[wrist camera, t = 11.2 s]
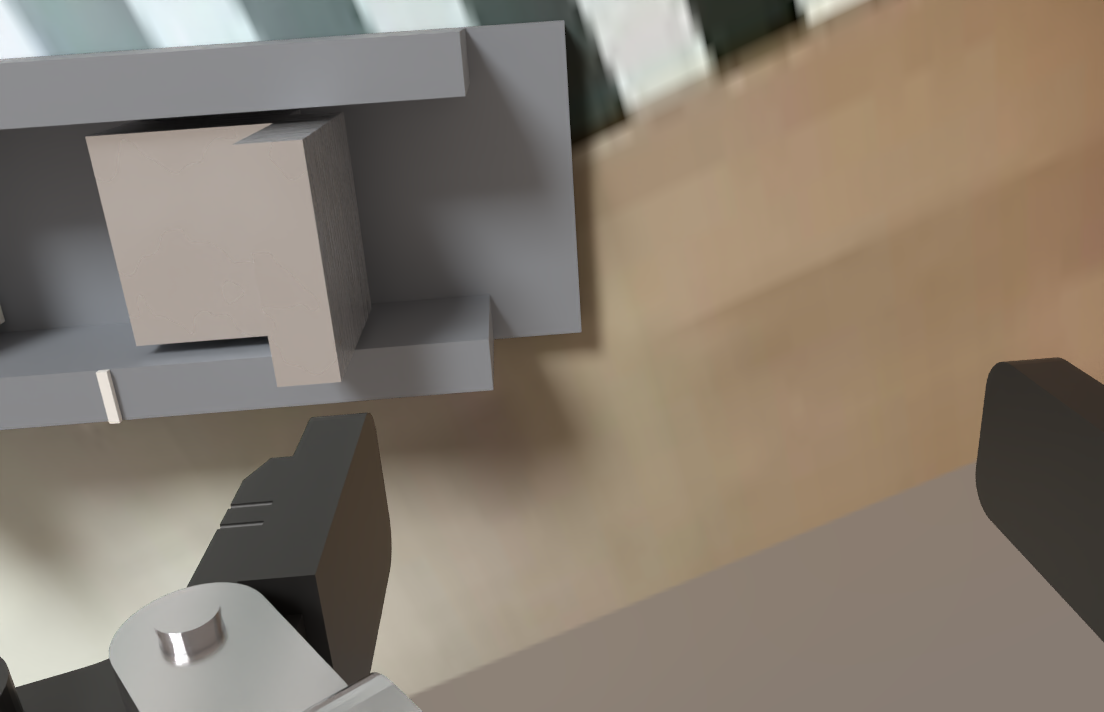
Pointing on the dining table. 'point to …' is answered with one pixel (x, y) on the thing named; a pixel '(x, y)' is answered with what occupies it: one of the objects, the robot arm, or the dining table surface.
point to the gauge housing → (382, 200)
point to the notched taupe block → (239, 234)
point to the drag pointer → (1, 316)
